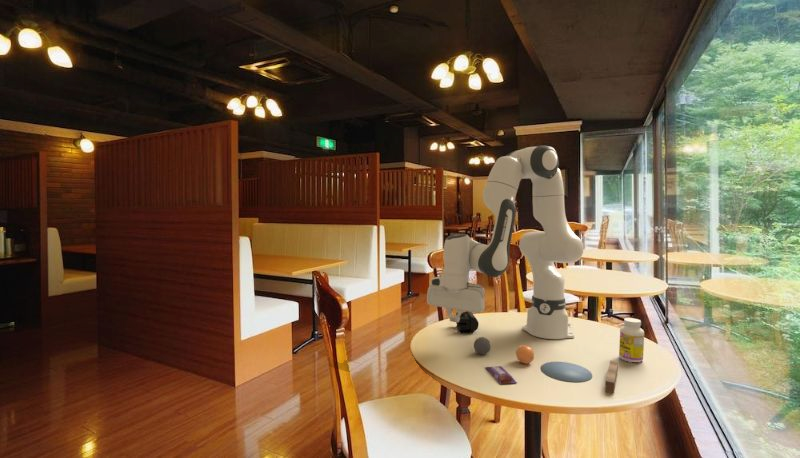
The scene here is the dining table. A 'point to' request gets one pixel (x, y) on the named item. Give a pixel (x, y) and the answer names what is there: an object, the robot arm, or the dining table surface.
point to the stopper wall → (611, 377)
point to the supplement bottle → (631, 341)
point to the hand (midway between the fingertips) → (454, 321)
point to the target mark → (566, 371)
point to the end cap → (467, 323)
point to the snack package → (501, 375)
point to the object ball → (525, 354)
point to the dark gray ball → (482, 345)
